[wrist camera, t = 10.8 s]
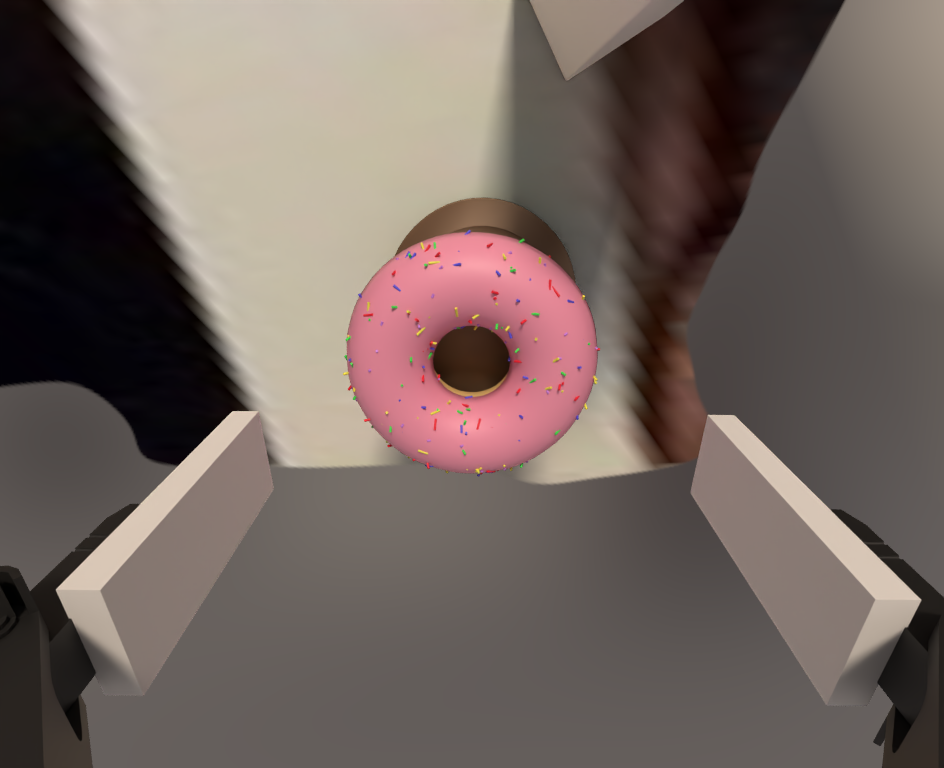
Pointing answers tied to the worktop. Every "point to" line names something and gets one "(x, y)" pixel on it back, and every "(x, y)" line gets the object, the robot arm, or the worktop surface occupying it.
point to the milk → (594, 27)
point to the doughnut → (474, 304)
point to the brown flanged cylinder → (479, 351)
